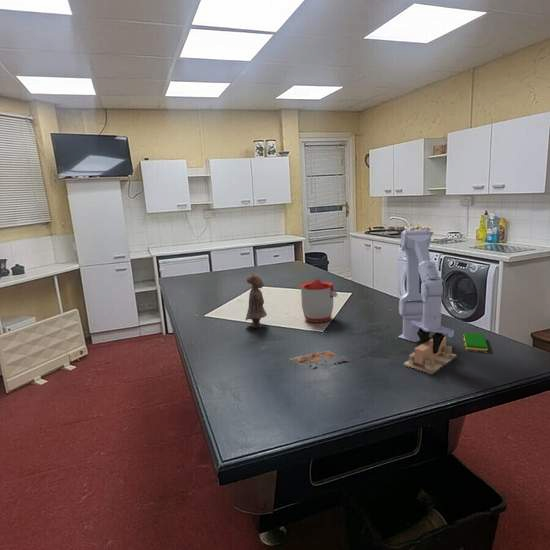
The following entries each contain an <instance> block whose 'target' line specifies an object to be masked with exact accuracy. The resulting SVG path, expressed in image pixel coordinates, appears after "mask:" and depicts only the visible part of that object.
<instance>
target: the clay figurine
mask: <svg viewBox="0 0 550 550" xmlns="http://www.w3.org/2000/svg"><path fill="white" fill-rule="evenodd" d="M246 282H247V283H248V284H249V285H251V289H250V291H249V296H248V308H247V311H246V317H245V321H247V320H251V321H252V322H251V323H250V325H251V328H260V329H261V328H262V323H261V322H260V321H261V319H263V318H265V317H267V315H268V314H267V312H266V310H265V308H264V303H265V300H264V297H263V292H262V290H261V289H262V288H263V287H264V286H265V284H264V282H263V278H262V277H260V275H259V274H257V273H250V274H249V275H248V276H247V277H246Z"/></svg>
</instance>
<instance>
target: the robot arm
mask: <svg viewBox="0 0 550 550" xmlns="http://www.w3.org/2000/svg"><path fill="white" fill-rule="evenodd" d="M431 241H432V232H431V231H430V230H429V229H428V228H427V229H413V230H405V229H403V231H402V232H401V233H400V248H401V251H402V252H405V260H406V261H405V262H406V265H405V266H406V267H405V269H406V270H405V271H406V276H405V277H406V292H405V293H403V294H402V295H401V296H400V297H399V303H398V312H399V315H400V316H401V317H402V334H400V335H398V338H400V339H403V340H405V341H409V342H413V343H417V342H420V344H423V343H425V342H427V341H429V340H430V336H431V335H430V334H431V333H434V334H432V336H431V339H433V353H434V354H436V353H438V350H439V347H440V344H441V342H442V340H443V339H444V337H448V338H452V337H454V335H455V333H454V332H455V330H453V329H451V328H448V327H445V326H443V325H442V324H441V321H442V301H443V297H444V296H445V294H446V284H445V281H444V280H443V278H442V277H441V276H439V274H438V270H437V266H436V264H435V263H434V262H433V261H431V257H430V251H429V248H430V245H431ZM420 280H421V285H420ZM420 289H421V290H420ZM420 291H421V293H420Z"/></svg>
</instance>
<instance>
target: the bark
mask: <svg viewBox="0 0 550 550" xmlns="http://www.w3.org/2000/svg"><path fill="white" fill-rule="evenodd" d="M320 356H322V357H325V359H327V358H328V360H329V359H331V358H333V357H335V356H336V357H335V358H337V359H338V358H339V359H340V358H344V357H345V358H346V356H345V355H344V356H342V357H337V355H336V353H334V352H332V351H330V350H325V351H321V352H313V353H308V354H303V355H299V356H295V357H291V358H288V359H290V360H294V361H296V360H297V362H300V363H301V362H305V363H301V364H308V363H314V362H320V361H322V360H321V359H320ZM332 356H333V357H332ZM326 357H327V358H326ZM292 358H293V359H292ZM345 358H344V359H345ZM308 359H310V360H308ZM297 362H296V364H297ZM345 362H346V361H345ZM347 362H350V360H349V359H348V361H347ZM301 364H298V366H299V365H301ZM336 364H338V363H336ZM336 364H335V365H336Z"/></svg>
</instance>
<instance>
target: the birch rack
mask: <svg viewBox="0 0 550 550" xmlns="http://www.w3.org/2000/svg"><path fill="white" fill-rule="evenodd" d="M452 349H453V348H452V346H449V345H446V347H445V348H444V351H443V352H442V353H441V354H439V355H437V356H436V357H434V358H431V357H429V358H428V359H426V360H425V363H424V364H423V365H422V364H419V363H416V362H414V352H415V351H414V352H412V353H409V355H408V359H407V361H405V362H404V363H403V366H404V365H405V366H404V367H406V366H408V367H407V368H409V367H411V368H410V369H412V368H415V369H417V370H416V371H418V370H420V371H419V372H421V371H423V372H422V373H424V372H427V373H430V374H432V373H433V374H435V373H436V372H437V371H436V370H438V369H439V368H440V367H442V366H443V365H445V364H446V363H448V362H449V361H450V362H452V361H453V360H454V359H453V358H455V357H456V358H457V354H455V353H452ZM456 358H455V359H456ZM452 359H453V360H452ZM451 360H452V361H451ZM450 362H449V363H450ZM449 363H448V364H449ZM446 365H447V364H446ZM446 365H445V366H446ZM443 367H444V366H443ZM443 367H442V368H443ZM415 369H414V370H415ZM439 370H440V369H439ZM439 370H438V371H439ZM435 371H436V372H435ZM434 372H435V373H434ZM427 373H426V374H427ZM430 374H429V375H430ZM433 374H432V375H433Z"/></svg>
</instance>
